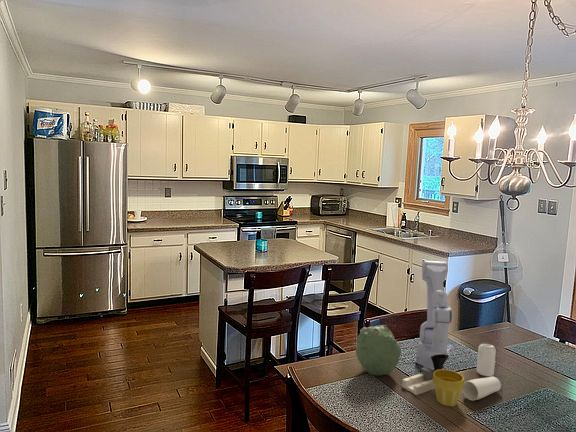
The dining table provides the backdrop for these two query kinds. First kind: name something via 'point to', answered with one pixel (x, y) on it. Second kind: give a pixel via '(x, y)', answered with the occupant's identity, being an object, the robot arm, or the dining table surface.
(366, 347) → the cabbage
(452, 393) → the plant pot
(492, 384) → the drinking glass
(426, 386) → the slider console
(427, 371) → the fader tab
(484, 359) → the can
